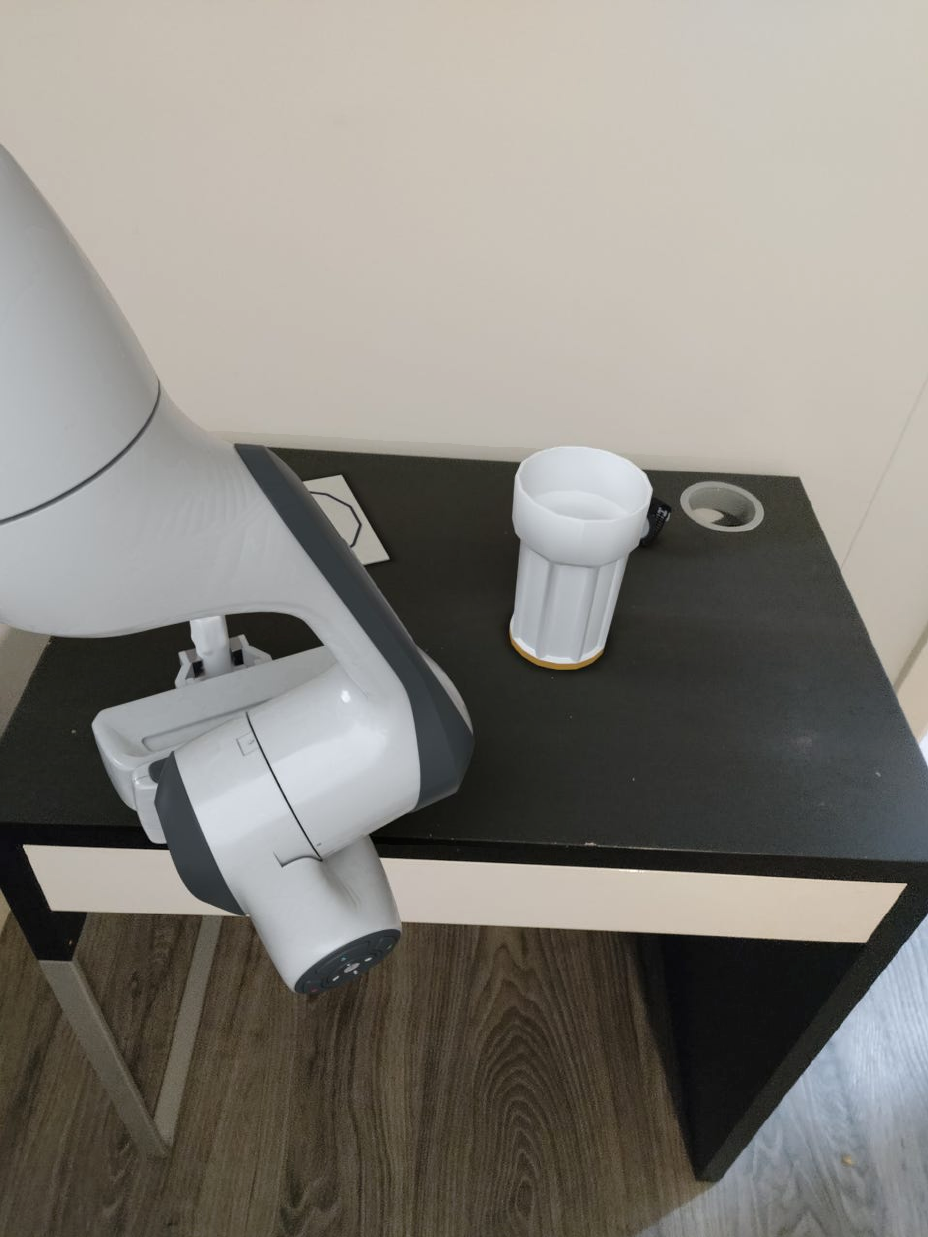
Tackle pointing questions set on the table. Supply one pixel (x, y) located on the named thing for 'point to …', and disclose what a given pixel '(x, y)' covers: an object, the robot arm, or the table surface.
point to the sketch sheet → (347, 517)
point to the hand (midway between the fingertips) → (211, 649)
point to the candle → (213, 646)
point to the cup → (573, 550)
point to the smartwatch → (651, 523)
